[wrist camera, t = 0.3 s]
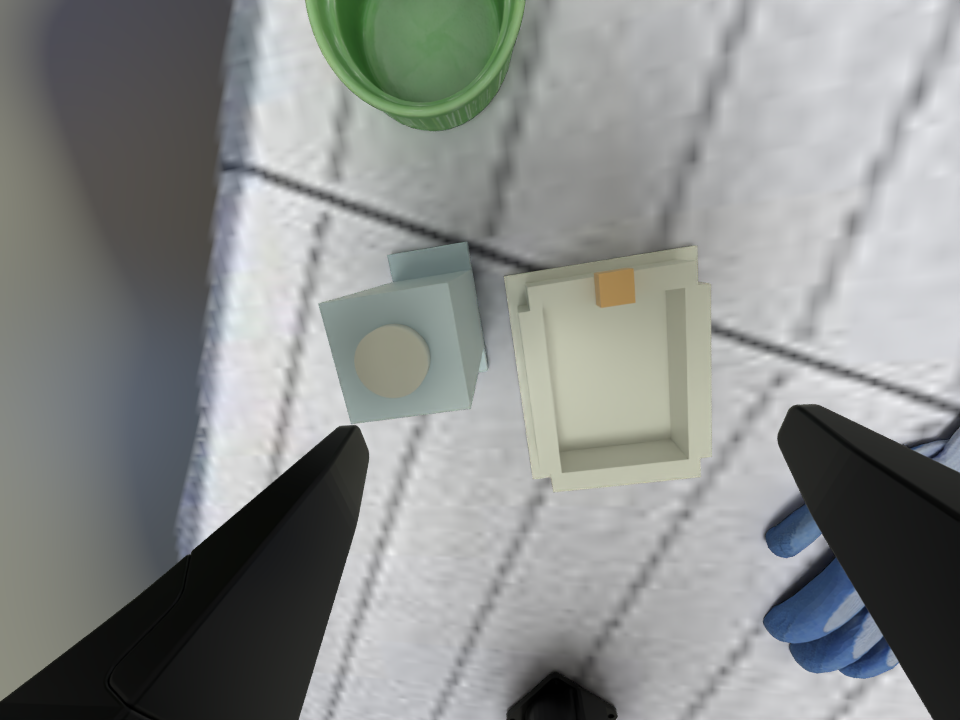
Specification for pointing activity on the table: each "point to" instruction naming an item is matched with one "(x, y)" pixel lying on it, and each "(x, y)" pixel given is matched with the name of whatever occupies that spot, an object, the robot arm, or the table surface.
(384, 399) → the block
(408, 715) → the table surface
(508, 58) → the ramekin
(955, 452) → the pair of gloves
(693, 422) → the pocket tray
